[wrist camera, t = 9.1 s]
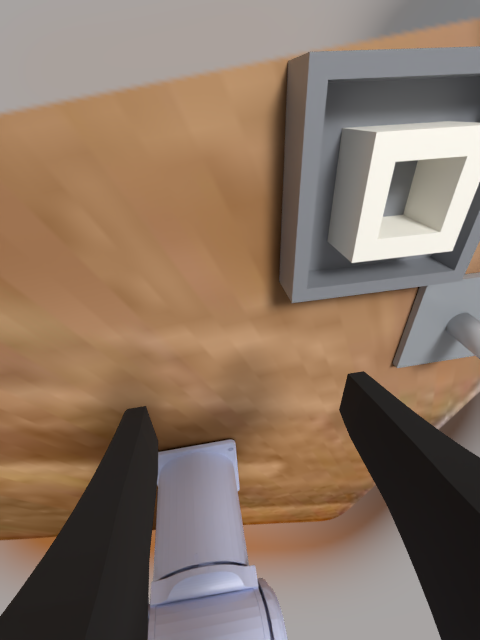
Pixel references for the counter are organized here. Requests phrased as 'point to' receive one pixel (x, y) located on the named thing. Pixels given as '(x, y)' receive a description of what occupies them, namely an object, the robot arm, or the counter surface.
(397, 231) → the ring
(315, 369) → the counter surface
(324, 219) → the tray
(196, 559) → the robot arm
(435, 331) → the grey plate with post
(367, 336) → the counter surface
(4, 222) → the counter surface
